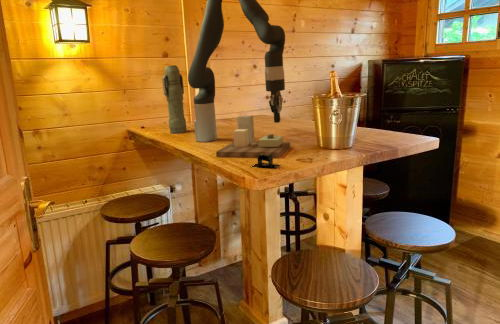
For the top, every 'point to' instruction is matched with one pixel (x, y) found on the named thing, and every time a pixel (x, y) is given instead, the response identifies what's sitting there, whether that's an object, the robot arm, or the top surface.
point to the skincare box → (247, 125)
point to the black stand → (266, 158)
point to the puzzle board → (252, 150)
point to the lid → (270, 141)
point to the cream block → (241, 138)
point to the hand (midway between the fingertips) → (277, 122)
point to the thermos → (174, 99)
